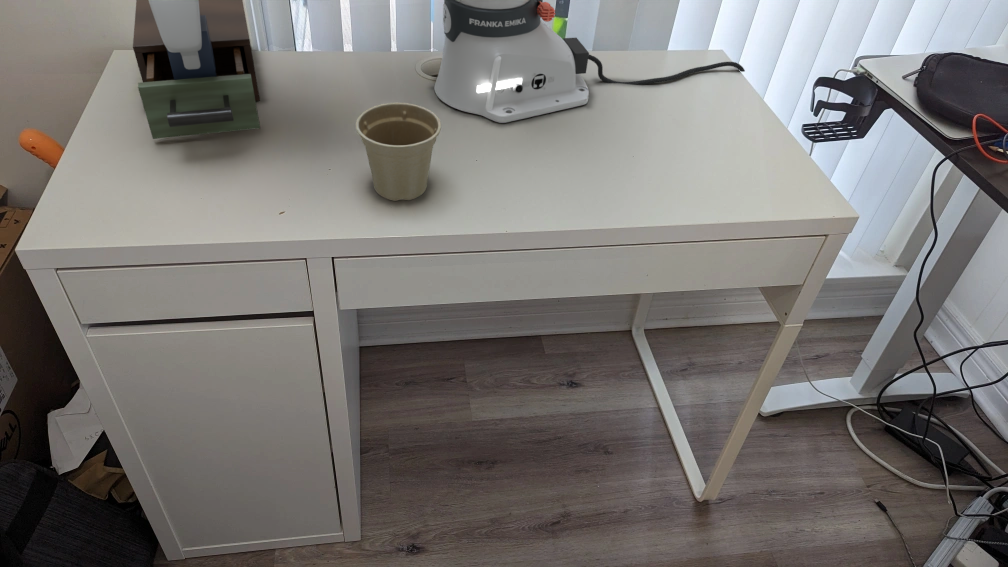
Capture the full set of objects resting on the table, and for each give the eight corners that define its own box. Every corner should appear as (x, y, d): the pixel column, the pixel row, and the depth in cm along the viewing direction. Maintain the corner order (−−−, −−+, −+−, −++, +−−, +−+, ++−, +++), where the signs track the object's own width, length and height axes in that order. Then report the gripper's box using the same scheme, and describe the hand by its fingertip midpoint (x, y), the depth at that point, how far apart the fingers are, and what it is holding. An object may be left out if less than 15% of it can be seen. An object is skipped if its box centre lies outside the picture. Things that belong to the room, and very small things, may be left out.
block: (215, 61, 92) (205, 14, 88) (216, 78, 89) (206, 31, 85) (174, 64, 91) (163, 17, 87) (174, 81, 87) (162, 33, 83)
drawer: (263, 149, 88) (254, 98, 84) (152, 161, 85) (136, 108, 80) (251, 75, 102) (242, 28, 97) (154, 83, 98) (141, 34, 94)
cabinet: (260, 100, 99) (249, 38, 93) (150, 110, 95) (132, 46, 89) (251, 50, 110) (241, -8, 104) (152, 57, 106) (136, -3, 100)
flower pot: (427, 217, 82) (427, 152, 76) (348, 202, 83) (342, 137, 77) (448, 173, 89) (450, 110, 83) (375, 159, 90) (372, 96, 84)
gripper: (136, -93, 85) (164, 22, 95) (130, -31, 71) (164, 96, 81) (193, -94, 87) (215, 19, 96) (198, -34, 73) (224, 91, 82)
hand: (192, 55), depth 88 cm, fingers closed on block, 5 cm apart
